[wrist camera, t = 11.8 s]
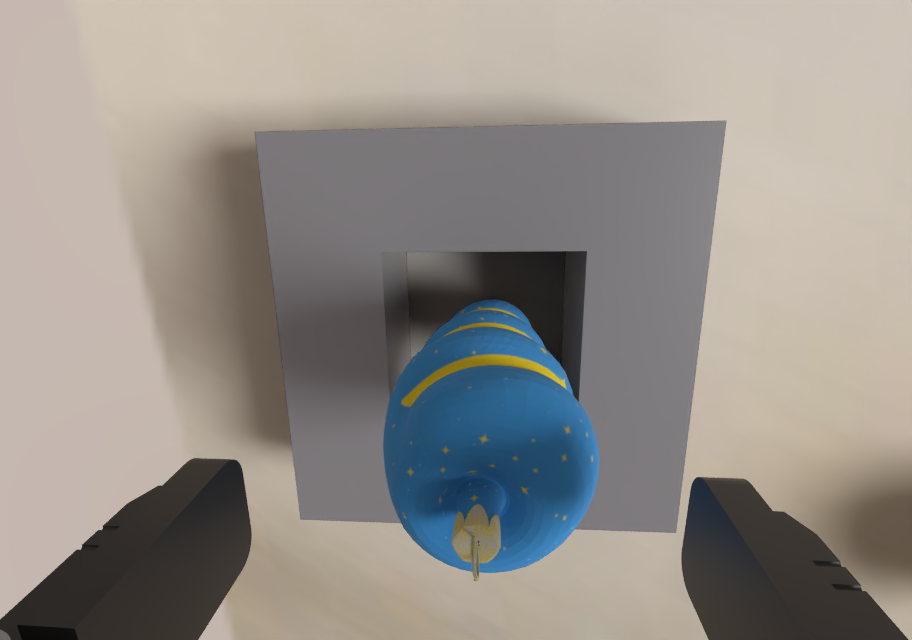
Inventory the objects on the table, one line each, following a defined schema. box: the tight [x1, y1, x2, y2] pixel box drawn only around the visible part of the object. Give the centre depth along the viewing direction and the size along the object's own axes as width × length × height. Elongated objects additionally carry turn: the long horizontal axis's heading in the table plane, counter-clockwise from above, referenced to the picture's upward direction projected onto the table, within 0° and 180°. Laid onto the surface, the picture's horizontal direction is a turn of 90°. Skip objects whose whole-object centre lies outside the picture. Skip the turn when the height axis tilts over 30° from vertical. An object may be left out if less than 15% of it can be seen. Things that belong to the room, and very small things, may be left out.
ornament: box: [383, 299, 599, 581], centre depth 16 cm, size 5×5×15 cm
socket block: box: [255, 121, 726, 533], centre depth 21 cm, size 15×15×5 cm
